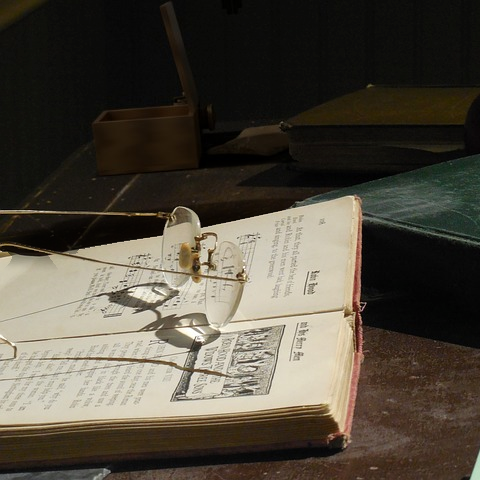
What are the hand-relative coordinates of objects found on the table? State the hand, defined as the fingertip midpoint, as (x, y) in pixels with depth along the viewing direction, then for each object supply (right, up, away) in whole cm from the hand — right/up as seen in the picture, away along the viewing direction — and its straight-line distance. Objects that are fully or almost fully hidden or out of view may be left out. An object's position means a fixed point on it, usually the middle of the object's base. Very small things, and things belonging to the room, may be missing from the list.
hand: (232, 13), depth 140 cm
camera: (-8, -17, +20) cm, 27 cm away
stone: (+3, -20, +10) cm, 22 cm away
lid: (-8, -6, +1) cm, 10 cm away
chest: (-13, -22, +5) cm, 26 cm away
